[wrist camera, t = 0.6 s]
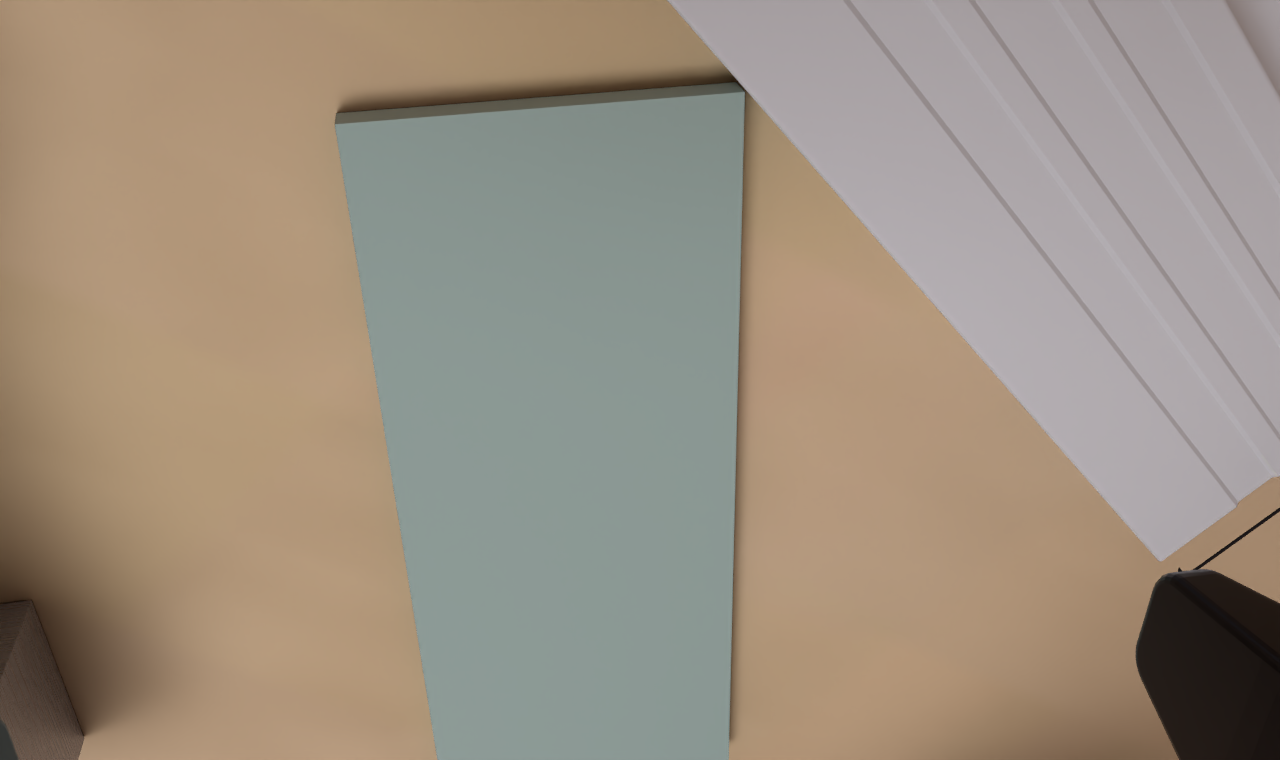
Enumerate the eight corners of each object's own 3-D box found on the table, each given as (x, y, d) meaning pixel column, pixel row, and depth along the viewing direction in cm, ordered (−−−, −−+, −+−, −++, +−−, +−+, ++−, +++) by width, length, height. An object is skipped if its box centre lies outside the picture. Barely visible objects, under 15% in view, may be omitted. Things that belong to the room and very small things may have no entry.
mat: (722, 744, 30) (728, 763, 29) (444, 789, 28) (445, 810, 28) (736, 82, 21) (744, 92, 20) (336, 112, 20) (335, 123, 19)
